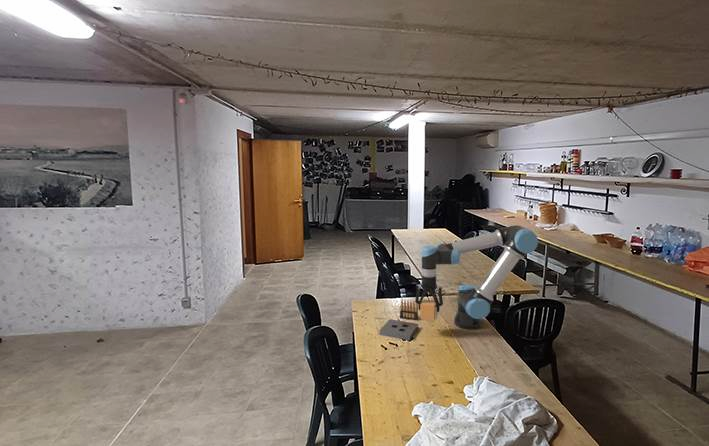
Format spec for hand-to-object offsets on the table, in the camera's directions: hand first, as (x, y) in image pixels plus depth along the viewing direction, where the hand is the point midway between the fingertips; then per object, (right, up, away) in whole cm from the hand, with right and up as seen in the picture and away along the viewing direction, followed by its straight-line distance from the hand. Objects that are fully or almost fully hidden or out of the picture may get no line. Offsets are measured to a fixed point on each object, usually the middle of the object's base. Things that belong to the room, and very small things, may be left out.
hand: (428, 316), depth 212 cm
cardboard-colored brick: (0, -2, 0) cm, 2 cm away
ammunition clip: (-8, -7, +22) cm, 24 cm away
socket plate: (-16, -9, +5) cm, 19 cm away
